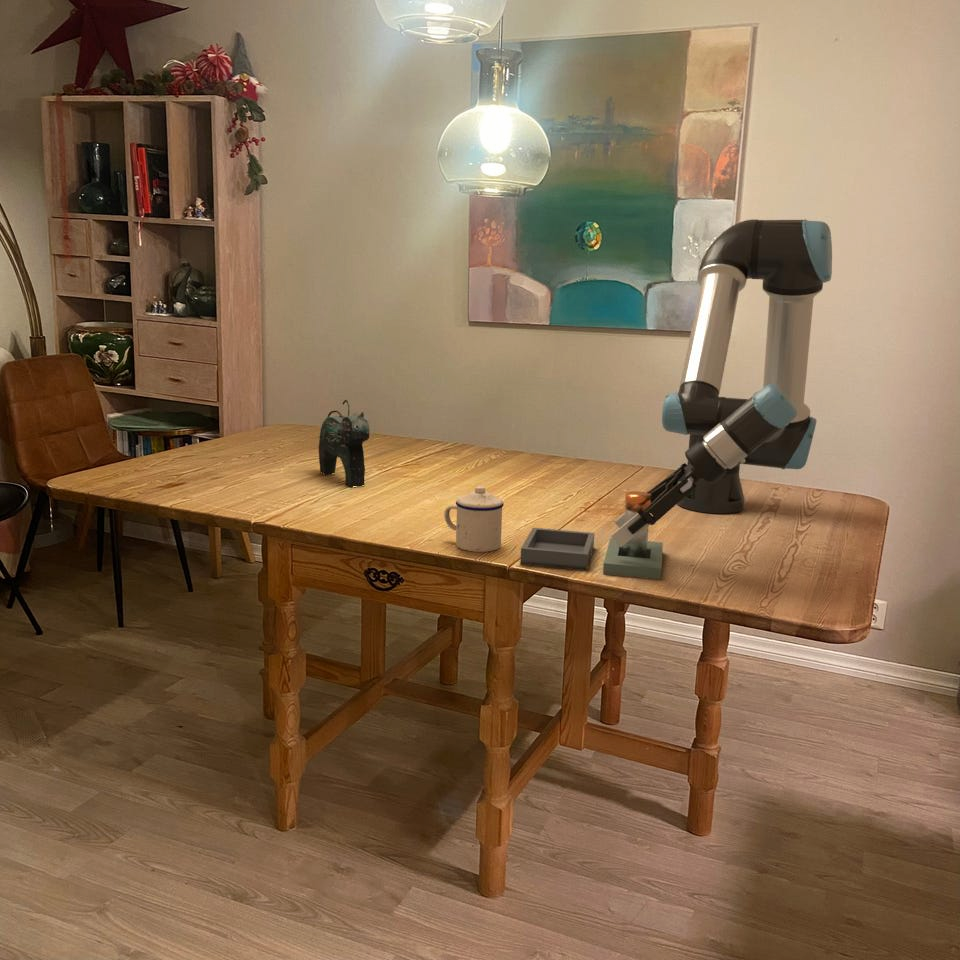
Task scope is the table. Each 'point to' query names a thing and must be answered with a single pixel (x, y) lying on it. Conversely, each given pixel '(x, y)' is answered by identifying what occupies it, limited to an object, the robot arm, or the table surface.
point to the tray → (557, 548)
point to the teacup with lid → (477, 521)
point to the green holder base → (634, 561)
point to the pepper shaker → (632, 504)
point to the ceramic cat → (344, 445)
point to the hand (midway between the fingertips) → (617, 533)
